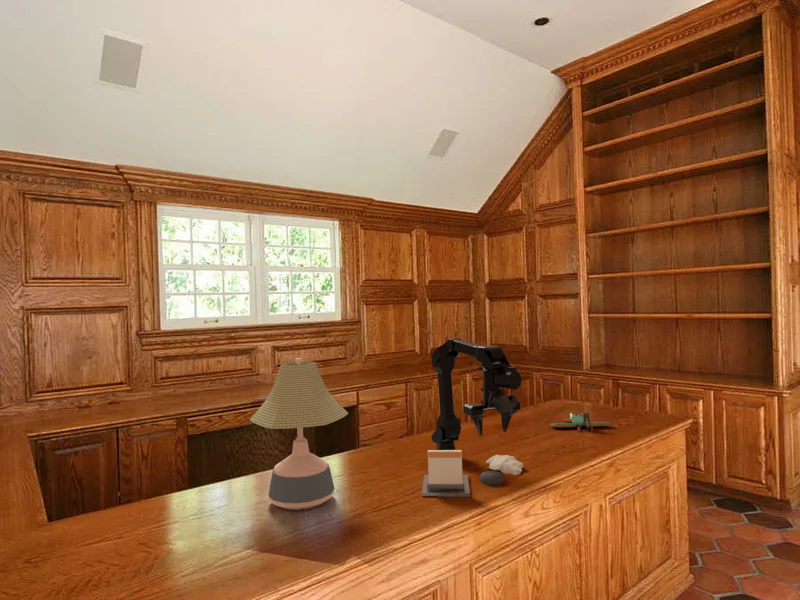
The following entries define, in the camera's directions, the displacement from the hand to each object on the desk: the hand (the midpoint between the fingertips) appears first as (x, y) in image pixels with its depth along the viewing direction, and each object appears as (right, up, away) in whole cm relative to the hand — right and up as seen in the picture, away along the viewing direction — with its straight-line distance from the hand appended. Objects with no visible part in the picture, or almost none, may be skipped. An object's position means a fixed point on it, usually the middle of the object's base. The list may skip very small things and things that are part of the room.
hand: (492, 433), depth 161 cm
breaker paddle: (-16, -12, -13) cm, 24 cm away
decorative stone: (+6, -14, +8) cm, 17 cm away
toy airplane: (+49, -14, +61) cm, 79 cm away
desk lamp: (-58, -16, -16) cm, 62 cm away
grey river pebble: (-1, -14, -4) cm, 15 cm away
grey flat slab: (-16, -14, -8) cm, 23 cm away
